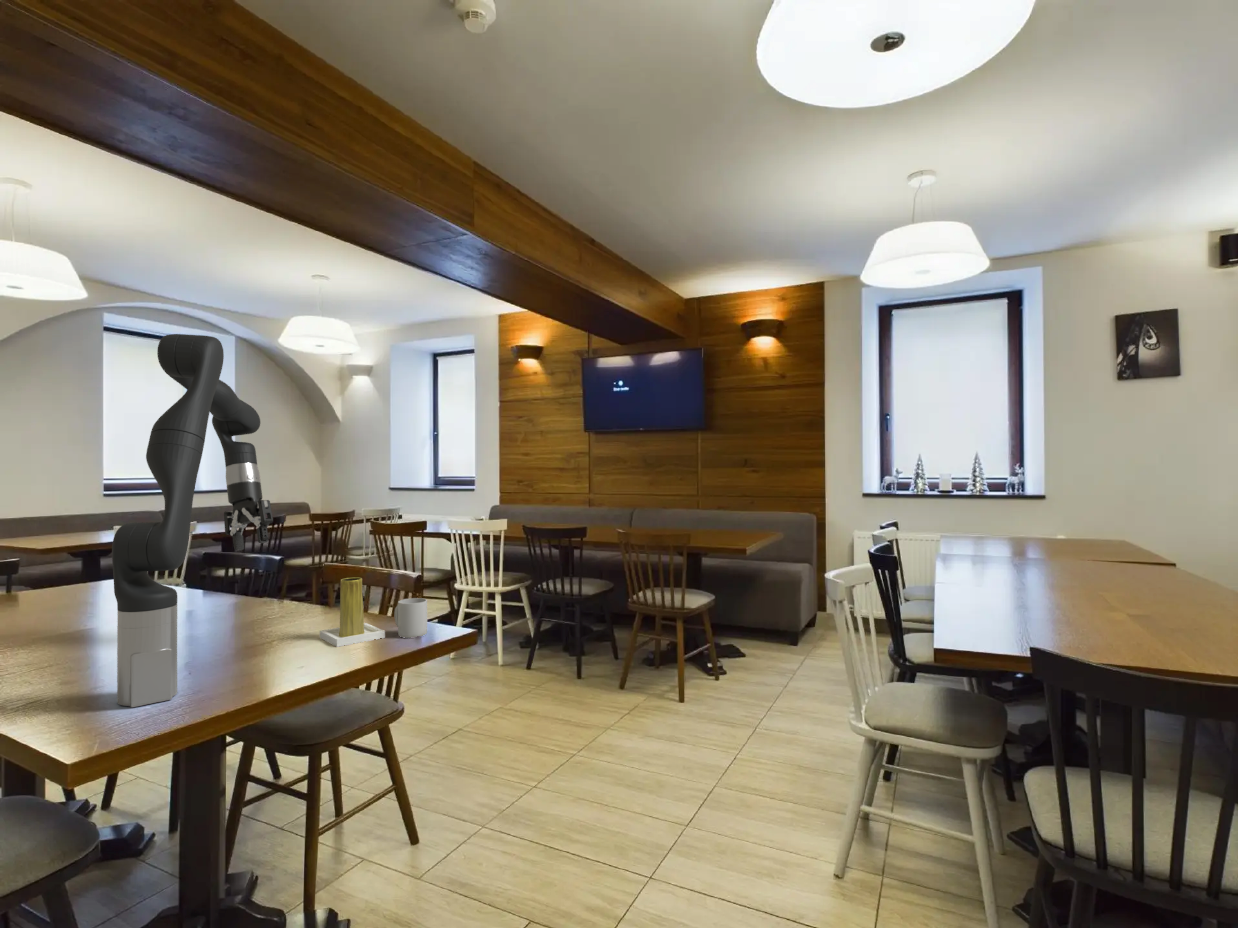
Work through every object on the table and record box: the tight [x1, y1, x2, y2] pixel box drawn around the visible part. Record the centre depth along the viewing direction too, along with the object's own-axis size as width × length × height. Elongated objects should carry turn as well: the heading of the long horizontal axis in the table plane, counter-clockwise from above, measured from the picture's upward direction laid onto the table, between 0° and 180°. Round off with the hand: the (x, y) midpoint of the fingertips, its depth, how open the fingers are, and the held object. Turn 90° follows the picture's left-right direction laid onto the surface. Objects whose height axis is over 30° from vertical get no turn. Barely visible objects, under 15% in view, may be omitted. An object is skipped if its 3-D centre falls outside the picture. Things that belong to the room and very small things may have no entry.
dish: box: [319, 622, 386, 648], centre depth 166 cm, size 12×12×2 cm
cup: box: [393, 597, 428, 639], centre depth 169 cm, size 7×10×9 cm
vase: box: [339, 577, 365, 637], centre depth 166 cm, size 6×6×14 cm
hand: (251, 546), depth 162 cm, fingers open, 8 cm apart
